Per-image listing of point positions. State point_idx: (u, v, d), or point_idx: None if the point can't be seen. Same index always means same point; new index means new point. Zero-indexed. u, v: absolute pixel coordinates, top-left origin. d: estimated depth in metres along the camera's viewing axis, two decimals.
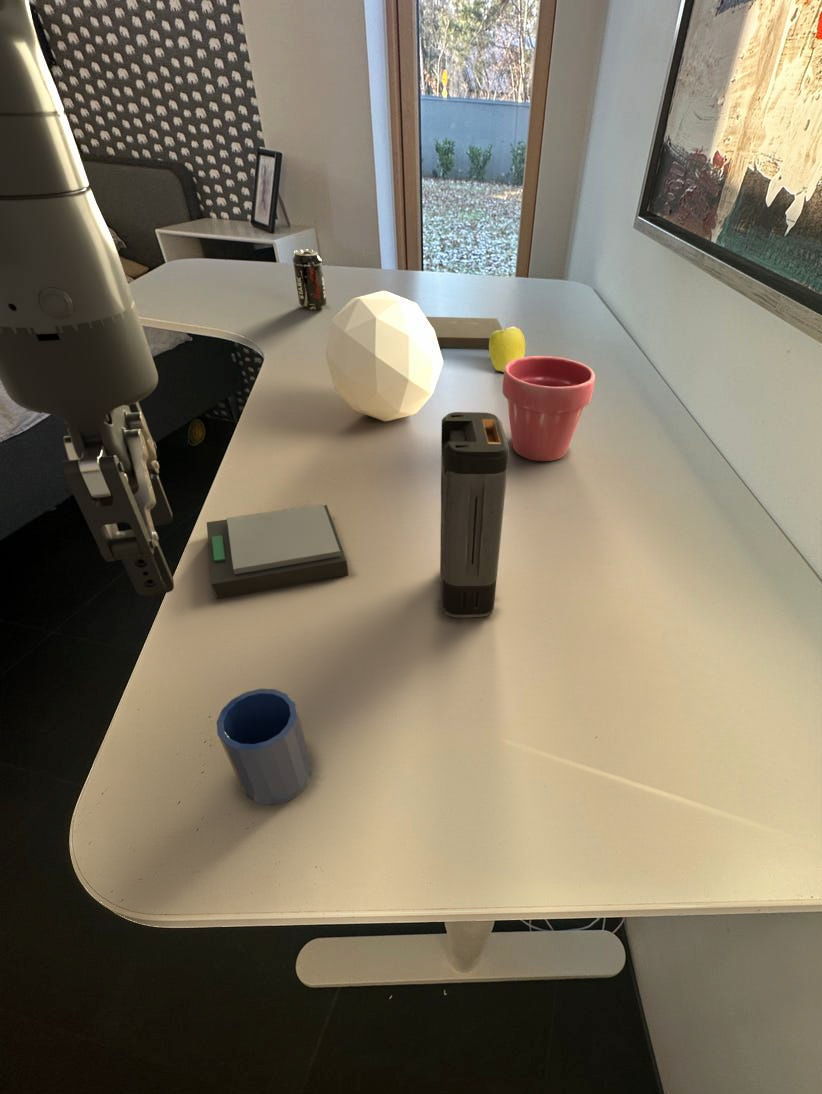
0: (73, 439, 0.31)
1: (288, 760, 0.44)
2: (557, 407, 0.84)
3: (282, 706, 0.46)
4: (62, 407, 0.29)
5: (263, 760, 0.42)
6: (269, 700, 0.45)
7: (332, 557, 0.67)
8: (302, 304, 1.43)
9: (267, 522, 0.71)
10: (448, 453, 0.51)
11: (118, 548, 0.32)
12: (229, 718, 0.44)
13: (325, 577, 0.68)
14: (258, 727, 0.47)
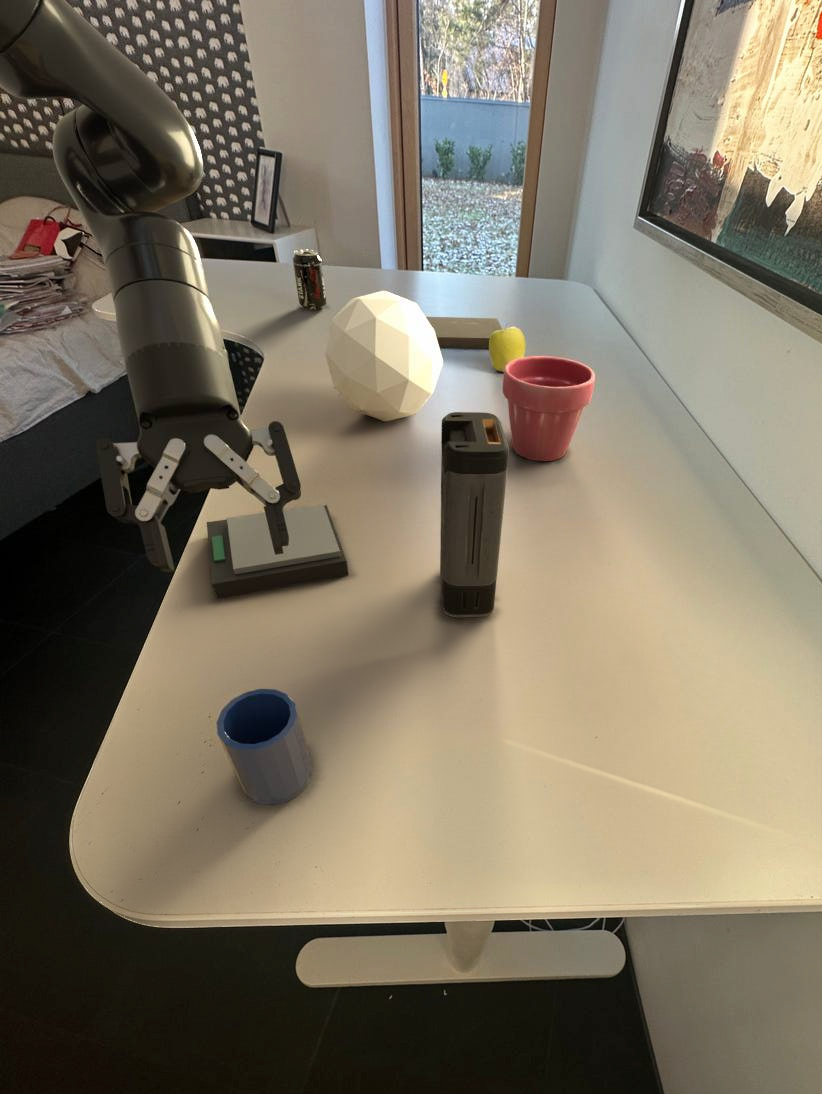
0: (243, 425, 0.46)
1: (288, 760, 0.44)
2: (557, 407, 0.84)
3: (282, 706, 0.46)
4: (237, 405, 0.46)
5: (263, 760, 0.42)
6: (269, 700, 0.45)
7: (332, 557, 0.67)
8: (302, 304, 1.43)
9: None
10: (448, 453, 0.51)
11: None
12: (229, 718, 0.44)
13: (325, 577, 0.68)
14: (258, 727, 0.47)
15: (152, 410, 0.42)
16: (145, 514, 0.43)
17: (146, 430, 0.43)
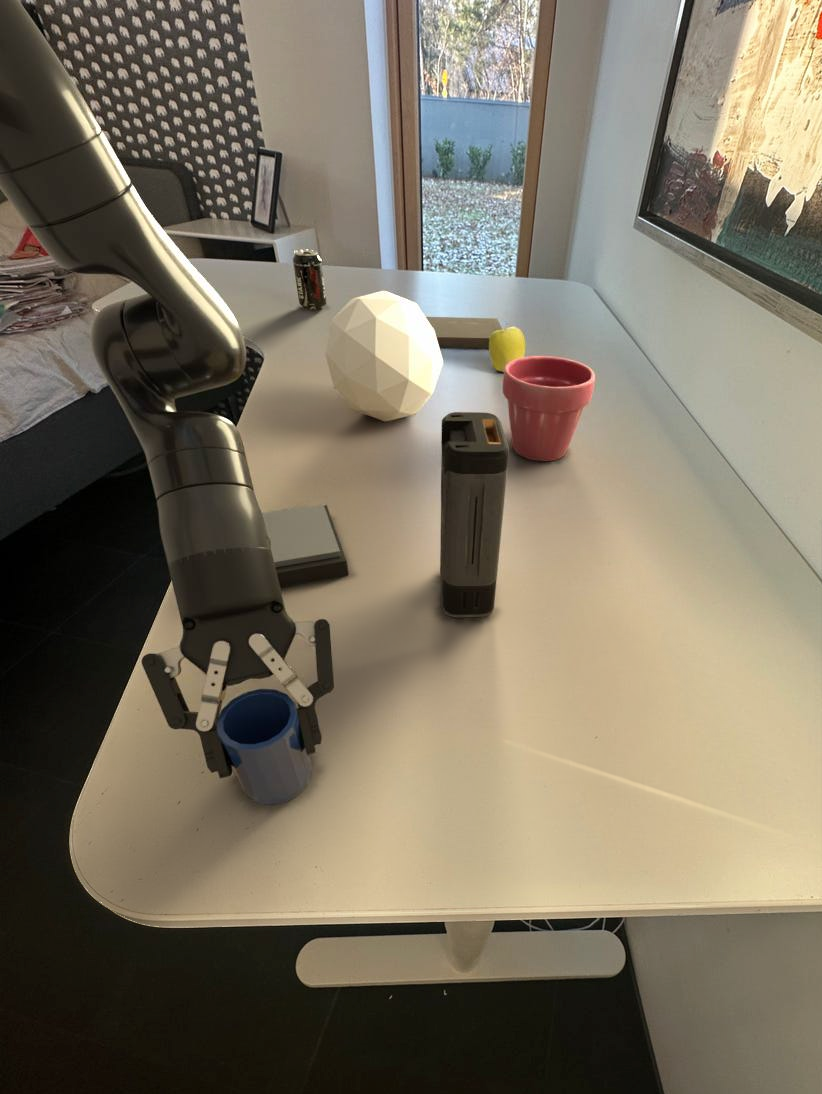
0: (287, 616, 0.45)
1: (288, 760, 0.44)
2: (557, 407, 0.84)
3: (282, 706, 0.46)
4: (281, 596, 0.45)
5: (263, 760, 0.42)
6: (269, 700, 0.45)
7: (332, 557, 0.67)
8: (302, 304, 1.43)
9: (267, 522, 0.71)
10: (448, 453, 0.51)
11: None
12: (229, 718, 0.44)
13: (325, 577, 0.68)
14: (258, 727, 0.47)
15: (197, 616, 0.41)
16: (206, 724, 0.42)
17: (189, 632, 0.42)
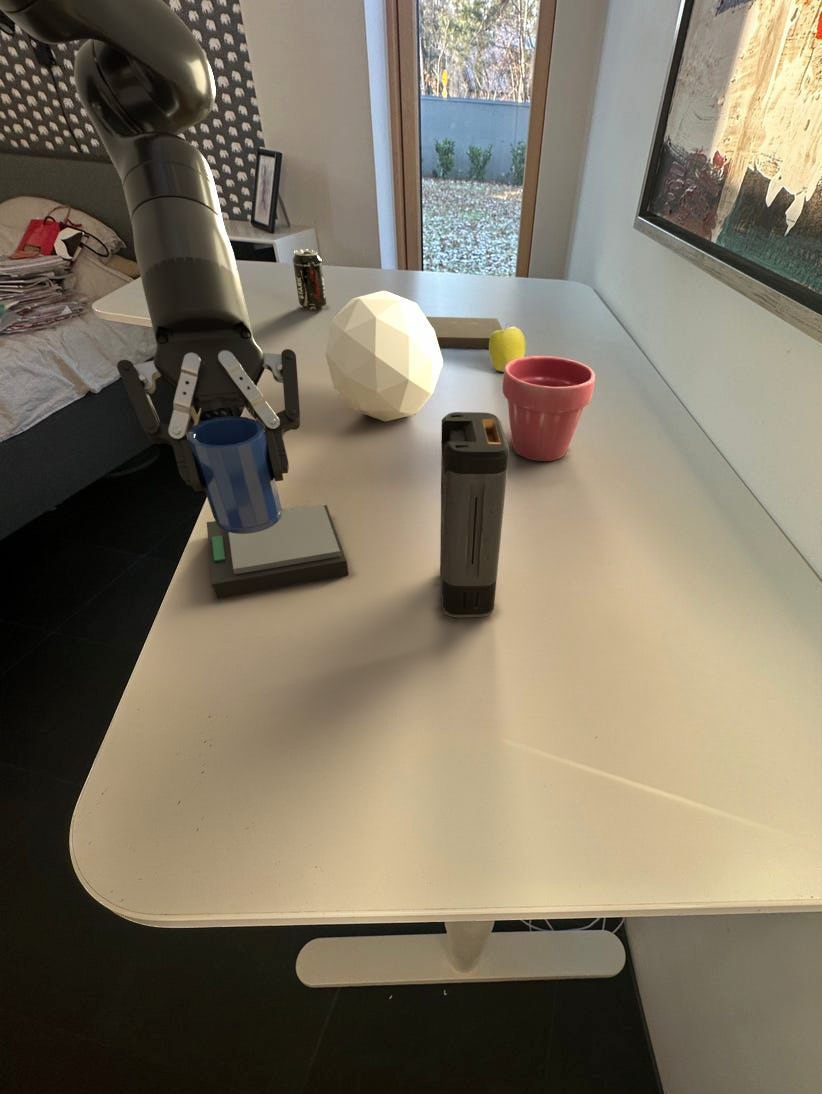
0: (255, 344, 0.47)
1: (256, 476, 0.47)
2: (557, 407, 0.84)
3: (251, 435, 0.48)
4: (249, 325, 0.47)
5: (231, 466, 0.45)
6: (239, 428, 0.48)
7: (332, 557, 0.67)
8: (302, 304, 1.43)
9: None
10: (448, 453, 0.51)
11: None
12: (200, 436, 0.47)
13: (325, 577, 0.68)
14: None
15: (168, 323, 0.44)
16: (178, 431, 0.45)
17: (162, 345, 0.45)
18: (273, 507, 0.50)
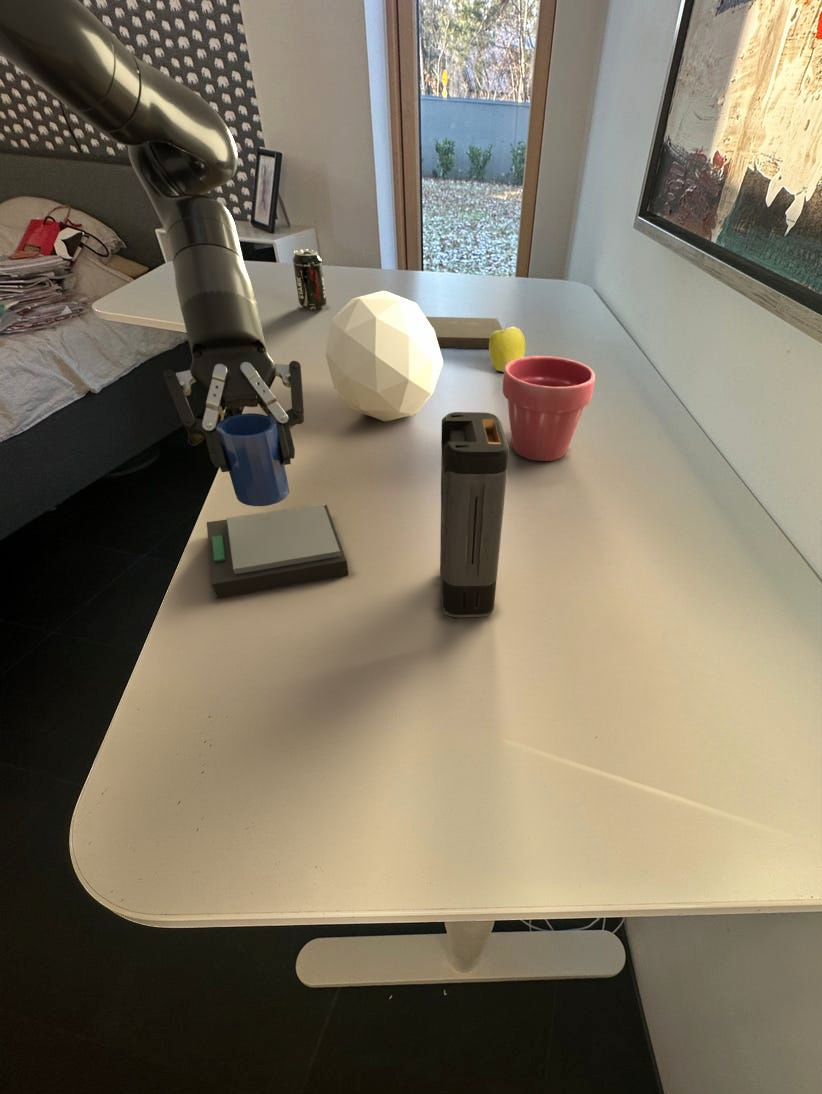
0: (268, 357, 0.60)
1: (269, 460, 0.60)
2: (557, 407, 0.84)
3: (265, 428, 0.61)
4: (264, 342, 0.60)
5: (251, 452, 0.58)
6: (256, 423, 0.61)
7: (332, 557, 0.67)
8: (302, 304, 1.43)
9: (267, 522, 0.71)
10: (448, 453, 0.51)
11: None
12: (226, 428, 0.60)
13: (325, 577, 0.68)
14: None
15: (203, 341, 0.57)
16: (210, 425, 0.58)
17: (197, 358, 0.58)
18: (282, 485, 0.63)
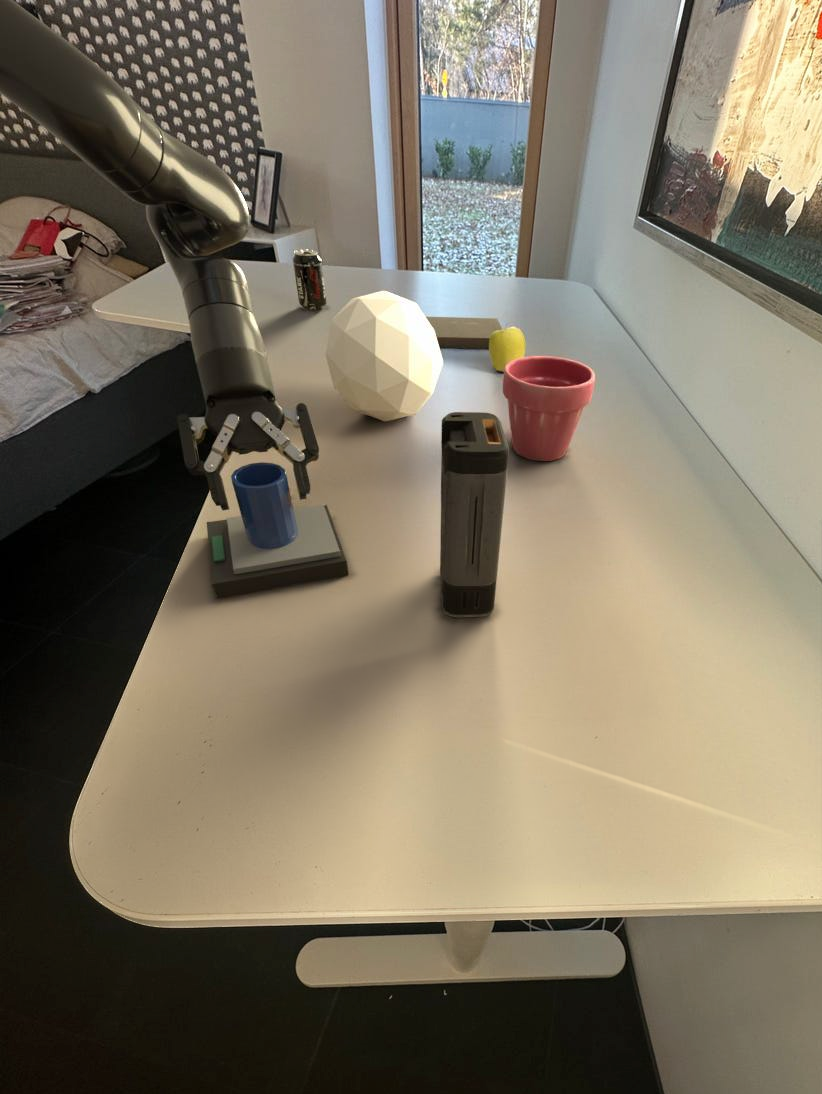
0: (278, 405, 0.64)
1: (280, 507, 0.64)
2: (557, 407, 0.84)
3: (276, 476, 0.66)
4: None
5: (263, 500, 0.62)
6: (267, 471, 0.65)
7: (332, 557, 0.67)
8: (302, 304, 1.43)
9: None
10: (448, 453, 0.51)
11: None
12: (239, 477, 0.64)
13: (325, 577, 0.68)
14: None
15: (216, 394, 0.61)
16: (211, 467, 0.61)
17: (211, 408, 0.62)
18: (291, 529, 0.67)
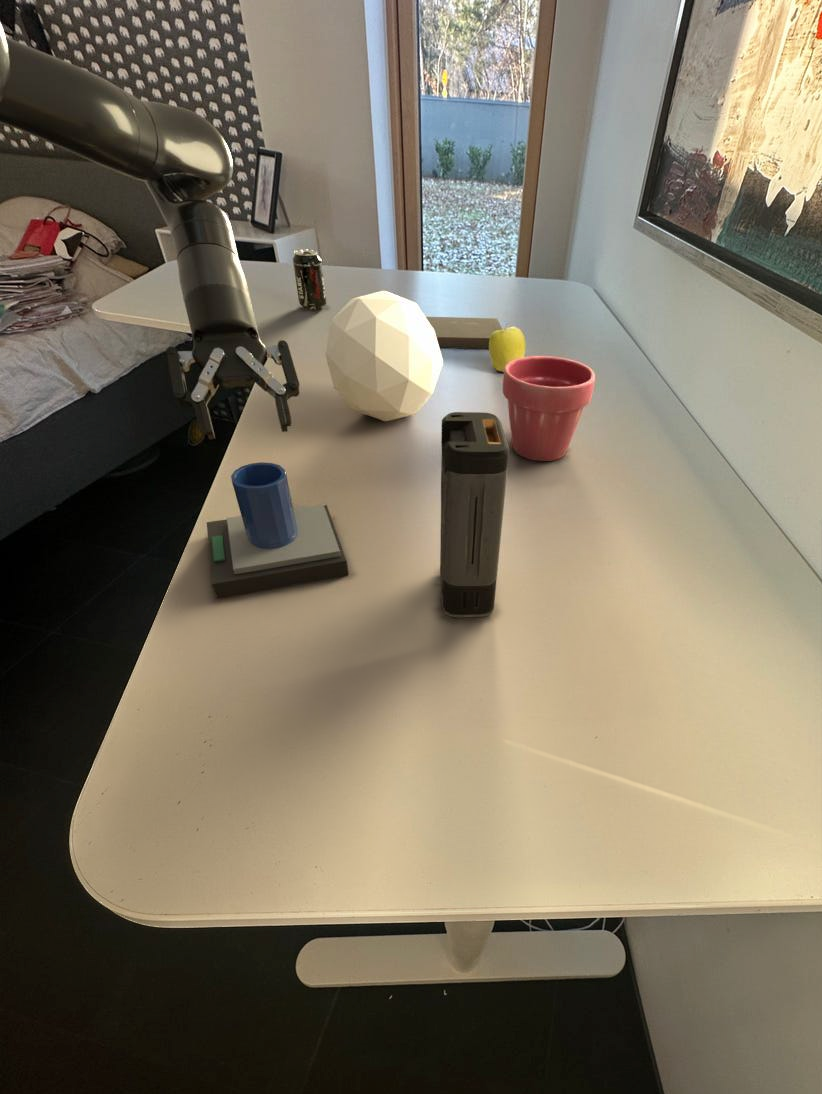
0: (260, 342, 0.69)
1: (280, 507, 0.64)
2: (557, 407, 0.84)
3: (276, 476, 0.66)
4: (257, 329, 0.69)
5: (263, 500, 0.62)
6: (267, 471, 0.65)
7: (332, 557, 0.67)
8: (302, 304, 1.43)
9: None
10: (448, 453, 0.51)
11: None
12: (239, 477, 0.64)
13: (325, 577, 0.68)
14: None
15: (203, 328, 0.65)
16: (198, 397, 0.66)
17: (198, 342, 0.67)
18: (291, 529, 0.67)
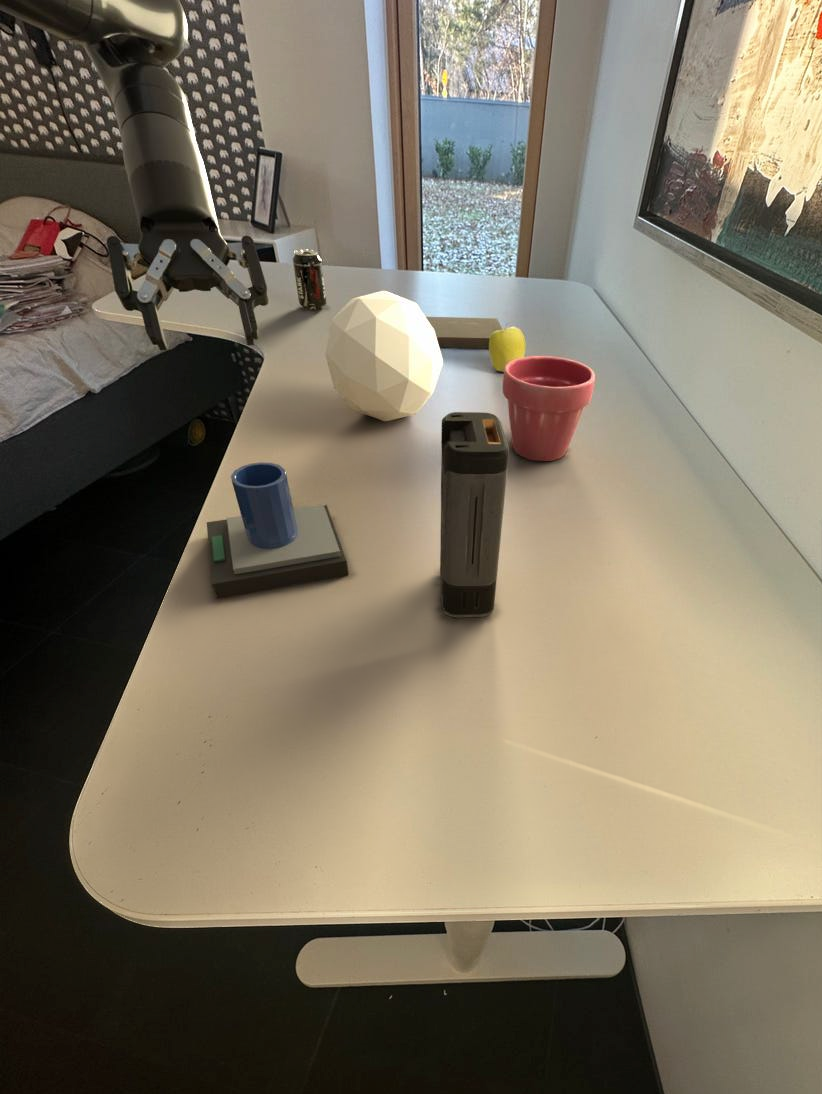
0: (221, 237, 0.59)
1: (280, 507, 0.64)
2: (557, 407, 0.84)
3: (276, 476, 0.66)
4: (216, 222, 0.59)
5: (263, 500, 0.62)
6: (267, 471, 0.65)
7: (332, 557, 0.67)
8: (302, 304, 1.43)
9: None
10: (448, 453, 0.51)
11: None
12: (239, 477, 0.64)
13: (325, 577, 0.68)
14: None
15: (150, 214, 0.55)
16: (145, 297, 0.56)
17: (145, 233, 0.56)
18: (291, 529, 0.67)
